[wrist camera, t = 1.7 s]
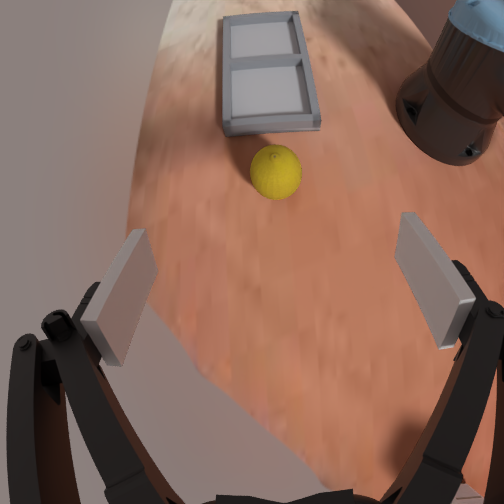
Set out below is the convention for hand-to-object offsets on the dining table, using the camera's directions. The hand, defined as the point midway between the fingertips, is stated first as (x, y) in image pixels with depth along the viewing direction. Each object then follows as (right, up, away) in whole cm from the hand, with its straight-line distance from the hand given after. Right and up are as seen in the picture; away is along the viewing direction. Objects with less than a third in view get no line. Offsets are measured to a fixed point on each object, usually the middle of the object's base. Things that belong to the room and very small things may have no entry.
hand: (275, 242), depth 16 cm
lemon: (+2, +7, +22) cm, 23 cm away
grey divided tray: (+1, +26, +25) cm, 36 cm away
